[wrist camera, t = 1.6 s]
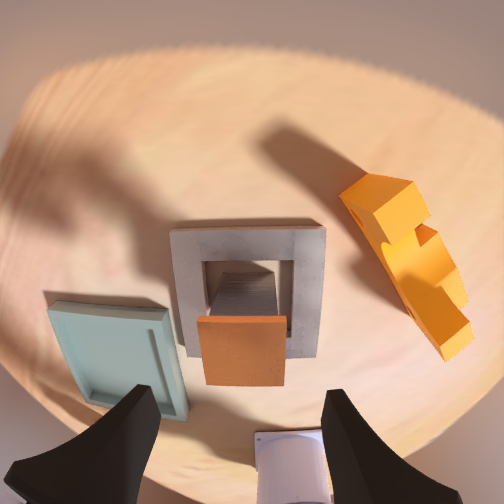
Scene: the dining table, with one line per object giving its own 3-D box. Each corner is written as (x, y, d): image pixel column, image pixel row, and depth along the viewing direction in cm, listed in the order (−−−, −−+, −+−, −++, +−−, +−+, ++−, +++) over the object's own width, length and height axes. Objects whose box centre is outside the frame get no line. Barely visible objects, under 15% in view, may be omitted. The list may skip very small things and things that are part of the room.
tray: (190, 408, 24) (186, 422, 23) (92, 392, 25) (86, 402, 23) (168, 308, 21) (161, 321, 19) (57, 300, 21) (46, 309, 20)
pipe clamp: (448, 285, 20) (491, 322, 13) (409, 316, 21) (445, 362, 14) (385, 159, 17) (437, 162, 11) (337, 195, 18) (373, 213, 12)
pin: (278, 320, 21) (283, 386, 14) (222, 320, 21) (206, 384, 14) (279, 267, 19) (286, 322, 13) (218, 268, 20) (196, 321, 13)
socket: (314, 349, 21) (315, 357, 20) (189, 349, 22) (187, 356, 21) (323, 225, 18) (326, 229, 17) (173, 228, 19) (168, 232, 18)
